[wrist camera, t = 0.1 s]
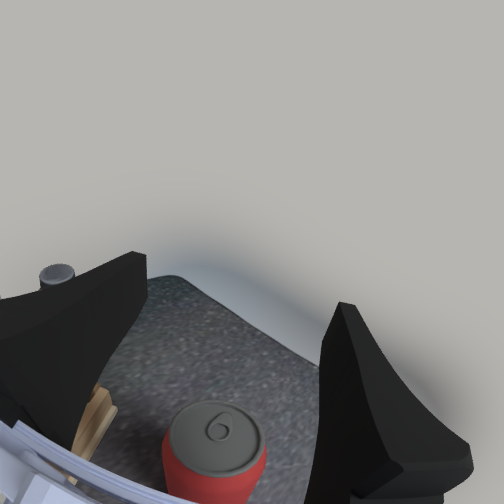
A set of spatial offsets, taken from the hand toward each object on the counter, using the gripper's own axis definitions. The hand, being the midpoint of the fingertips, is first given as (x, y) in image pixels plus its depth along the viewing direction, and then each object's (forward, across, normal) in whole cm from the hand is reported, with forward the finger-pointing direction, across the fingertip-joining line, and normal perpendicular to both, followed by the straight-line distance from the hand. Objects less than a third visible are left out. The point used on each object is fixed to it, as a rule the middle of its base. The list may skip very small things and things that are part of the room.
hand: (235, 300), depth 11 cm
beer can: (-2, 0, +22) cm, 22 cm away
